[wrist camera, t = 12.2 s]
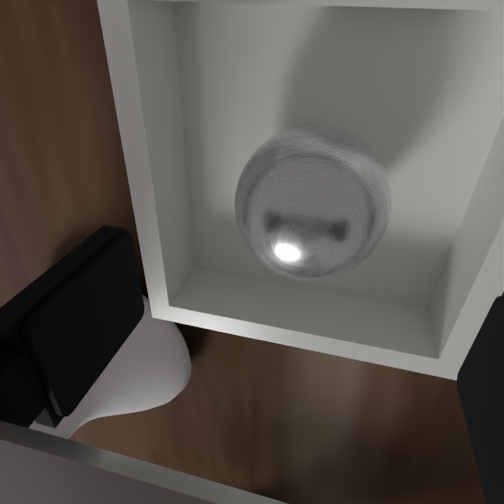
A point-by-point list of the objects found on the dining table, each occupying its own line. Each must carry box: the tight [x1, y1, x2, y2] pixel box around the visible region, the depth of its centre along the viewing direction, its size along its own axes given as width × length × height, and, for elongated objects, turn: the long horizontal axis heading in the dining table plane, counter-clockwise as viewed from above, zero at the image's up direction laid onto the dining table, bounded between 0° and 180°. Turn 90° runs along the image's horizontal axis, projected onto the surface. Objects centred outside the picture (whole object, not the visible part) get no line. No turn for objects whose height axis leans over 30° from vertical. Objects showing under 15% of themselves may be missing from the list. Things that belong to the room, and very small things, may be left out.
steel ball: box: [234, 125, 391, 281], centre depth 13 cm, size 6×6×6 cm
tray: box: [97, 0, 504, 380], centre depth 15 cm, size 14×14×4 cm
